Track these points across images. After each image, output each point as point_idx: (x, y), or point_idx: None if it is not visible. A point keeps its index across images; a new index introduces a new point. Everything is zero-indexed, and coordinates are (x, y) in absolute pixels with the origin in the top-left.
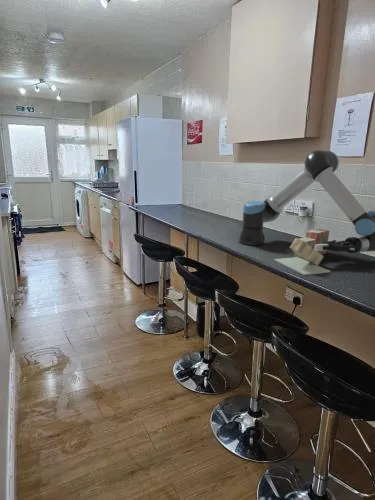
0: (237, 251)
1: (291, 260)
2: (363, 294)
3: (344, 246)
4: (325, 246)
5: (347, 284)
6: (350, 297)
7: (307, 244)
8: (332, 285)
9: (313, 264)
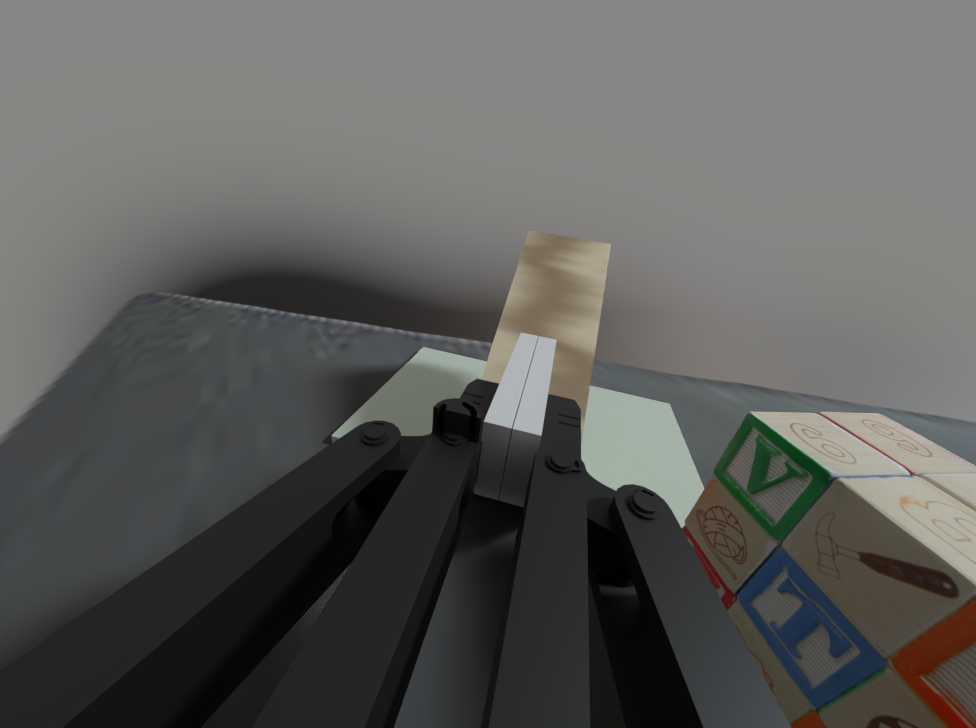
0: (847, 405)
1: (628, 442)
2: (137, 328)
3: (131, 587)
4: (481, 395)
5: (206, 364)
6: (204, 304)
7: (517, 270)
8: (280, 335)
9: None
